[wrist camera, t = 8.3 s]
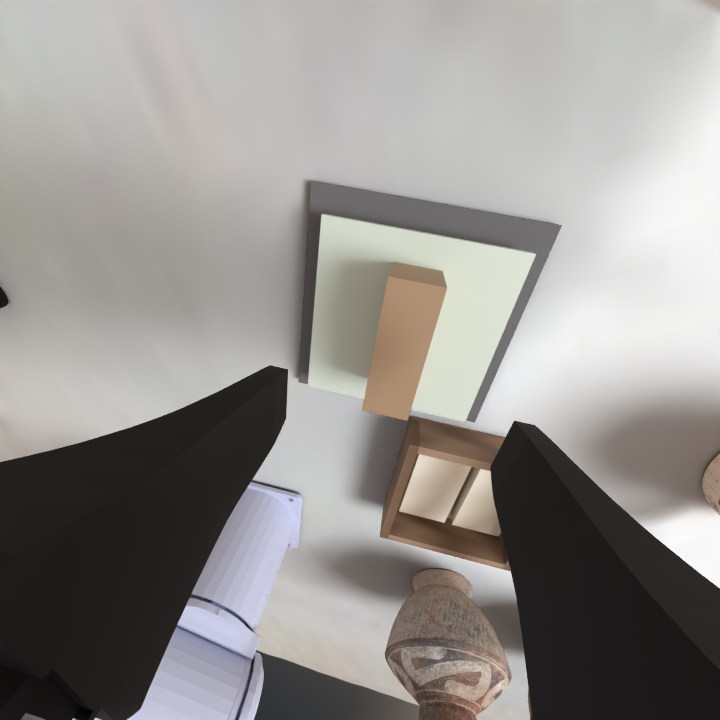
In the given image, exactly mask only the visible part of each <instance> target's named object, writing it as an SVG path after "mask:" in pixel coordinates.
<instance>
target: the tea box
mask: <svg viewBox="0 0 720 720" xmlns="http://www.w3.org/2000/svg"><path fill="white" fill-rule="evenodd" d="M504 440H505V437H501V436H496V435H492V434H488V433H483V432H479V431H475V430H470V429H466V428H462V427H458V426H453V425H449V424H445V423H440V422H436V421H432V420H428V419H423V418H419V417H415V416H411V417H410V421H409V424H408V427H407V430H406V434H405V437H404V440H403V443H402V447H401V450H400V453H399V457H398V460H397V463H396V466H395V470H394V473H393V476H392V479H391V483H390V486H389V489H388V492H387V496H386V499H385V502H384V506H383V514H382V523H381V531H380V537H382V538H386V539H390V540H394V541H398V542H402V543H405V544H409V545H413V546H417V547H421V548H424V549H428V550H432V551H436V552H440V553H443V554H447V555H451V556H455V557H459V558H462V559H466V560H470V561H474V562H478V563H481V564H485V565H489V566H493V567H497V568H500V569H504V570H508V571H510V566H509V561H508V557H507V553H506V549H505V545H504V541H503V537H502V533H501V529H500V525H499V521H498V517H497V512H496V508H495V504H494V499H493V492H492V483H491V471H490V466H491V464H492V462H493V461H494V459H495V457H496V455H497V453H498V451H499V449H500V447H501V445H502V443H503V441H504Z"/></svg>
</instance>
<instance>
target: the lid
mask: <svg viewBox="0 0 720 720" xmlns="http://www.w3.org/2000/svg"><path fill="white" fill-rule="evenodd" d="M535 256H536V254H535V253H533V252H529V251H523V250H518V249H513V248H507V247H502V246H496V245H491V244H486V243H480V242H475V241H469V240H464V239H459V238H453V237H448V236H442V235H437V234H432V233H426V232H421V231H415V230H410V229H405V228H399V227H394V226H388V225H383V224H378V223H372V222H367V221H361V220H356V219H351V218H345V217H340V216H334V215H329V214H321V227H320V239H319V252H318V264H317V276H316V289H315V301H314V314H313V326H312V338H311V351H310V363H309V376H308V386H310V387H314V388H319V389H323V390H327V391H332V392H336V393H340V394H345V395H349V396H353V397H358V398H362V399H364V402H363V407H362V410H363V411H367V412H371V413H376V414H380V415H384V416H389V417H393V418H397V419H402V420H406V421H408V418H409V414H410V411H411V410H415V411H419V412H423V413H428V414H432V415H436V416H441V417H445V418H449V419H454V420H458V421H462V422H465V421H466V419H467V417H468V414H469V412H470V410H471V407H472V405H473V402H474V400H475V398H476V395H477V393H478V391H479V388H480V386H481V384H482V381H483V379H484V376H485V374H486V372H487V369H488V367H489V365H490V362H491V360H492V358H493V355H494V353H495V350H496V348H497V346H498V343H499V341H500V339H501V336H502V334H503V332H504V329H505V327H506V324H507V322H508V320H509V317H510V315H511V313H512V310H513V308H514V306H515V303H516V301H517V298H518V296H519V294H520V291H521V289H522V287H523V284H524V282H525V280H526V277H527V275H528V272H529V270H530V268H531V265H532V263H533V261H534V258H535Z"/></svg>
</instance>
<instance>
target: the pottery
mask: <svg viewBox="0 0 720 720" xmlns="http://www.w3.org/2000/svg"><path fill="white" fill-rule="evenodd" d="M412 586H413V590H414V594H413V595H412V596H410V597H409V598H408V599H407V600H406V601H405V602H404V604H403V605H402V607H401V609H400V610H399V613H398V615H397V617H396V619H395V621H394V624H393V626H392V630H391V633H390V636H389V639H388V643H387V647H386V651H385V658H386V661H387V663H388V665H389V667H390V668H391V670H392V672H393V673H394V675H395V676H396V677H397V679H398V680H399V682H400V683H401V684H402V685H403V686H404V687H405V689H406V690H407V691H408V692H409V693H410V694H411V695H412V697H413V698H414V699H415V700H416V701H417V702H418V704H419V705H420V710H419V720H476V715H477V714H478V713H480V712H482V711H483V710H484V709H486V708H487V707H488V706H489V705H490V704H492V703H493V702H494V701H495V700H496V699H497V698H498V697H499V696H500V695H501V693H502V692H503V691H504V690H505V689H506V688H507V686H508V685H509V683H510V681H511V672H510V669H509V665H508V662H507V659H506V656H505V654H504V651H503V649H502V647H501V644H500V642H499V640H498V637H497V635H496V634H495V631H494V629H493V627H492V625H491V624H490V622H489V620H488V619H487V617H486V616H485V615H484V613H483V612H482V611H481V610H480V609H479V607H478V606H477V605H476V604H475V603H474V602H473V601H472V600H471V598H472V587H471V584H470V583H469V582H468V581H467V580H466V578H464V577H463V576H462V575H460V574H458V573H456V572H454V571H450V570H444V569H426V570H423V571H420V572H418V573H416V574H415V575H414V577H413V578H412ZM528 703H529V712H530V719H531V720H532V716H531V706H530V695H529V690H528Z"/></svg>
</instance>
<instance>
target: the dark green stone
mask: <svg viewBox="0 0 720 720" xmlns="http://www.w3.org/2000/svg"><path fill="white" fill-rule="evenodd" d="M8 303H9V302H8V299H7V297H6V295H5V293H4V292H3V290H2V289H1V287H0V308H2V307H4V306H6V305H7V304H8Z"/></svg>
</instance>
